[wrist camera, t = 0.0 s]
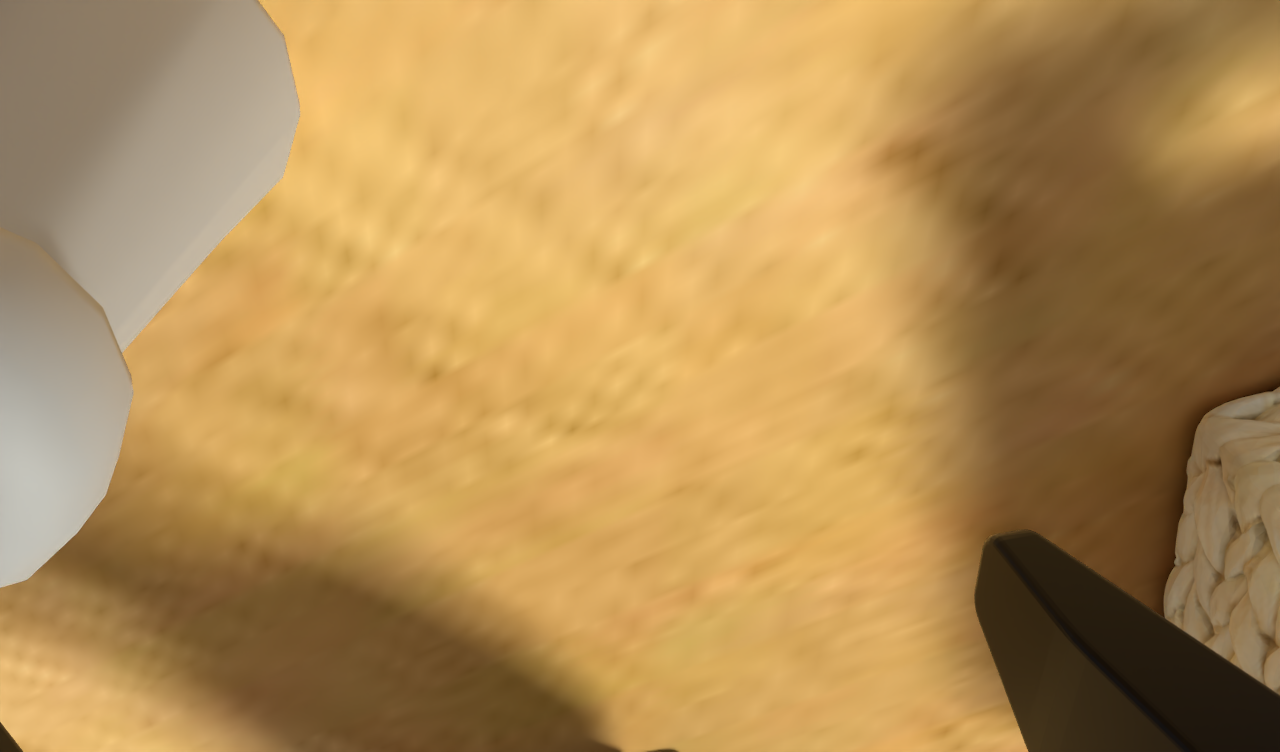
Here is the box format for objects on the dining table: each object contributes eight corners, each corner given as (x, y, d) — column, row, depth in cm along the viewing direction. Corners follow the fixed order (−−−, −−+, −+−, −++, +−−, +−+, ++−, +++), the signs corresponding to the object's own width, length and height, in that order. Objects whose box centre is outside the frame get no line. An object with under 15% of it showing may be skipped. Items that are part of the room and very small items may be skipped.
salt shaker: (13, 165, 20) (-455, 698, 10) (-36, -144, 17) (-796, 160, 7) (312, 198, 22) (182, 698, 11) (318, -80, 19) (143, 252, 8)
